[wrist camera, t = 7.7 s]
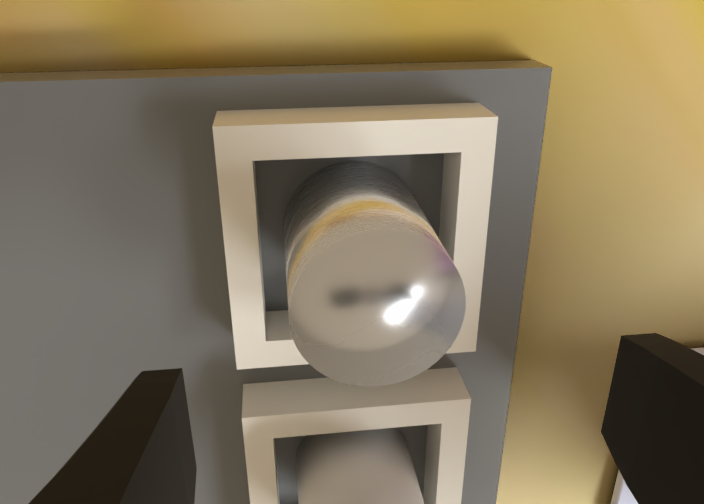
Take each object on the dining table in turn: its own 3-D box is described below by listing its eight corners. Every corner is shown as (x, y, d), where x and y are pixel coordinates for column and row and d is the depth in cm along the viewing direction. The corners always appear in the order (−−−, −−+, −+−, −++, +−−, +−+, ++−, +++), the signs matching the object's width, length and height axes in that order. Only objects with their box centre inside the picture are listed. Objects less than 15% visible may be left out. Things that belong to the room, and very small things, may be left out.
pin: (422, 158, 16) (473, 227, 12) (414, 283, 18) (458, 380, 14) (280, 163, 16) (285, 236, 12) (285, 289, 17) (292, 392, 13)
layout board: (533, 59, 17) (637, 103, 12) (483, 487, 23) (538, 622, 19) (-120, 75, 15) (-294, 134, 10) (26, 533, 22) (-39, 695, 17)
